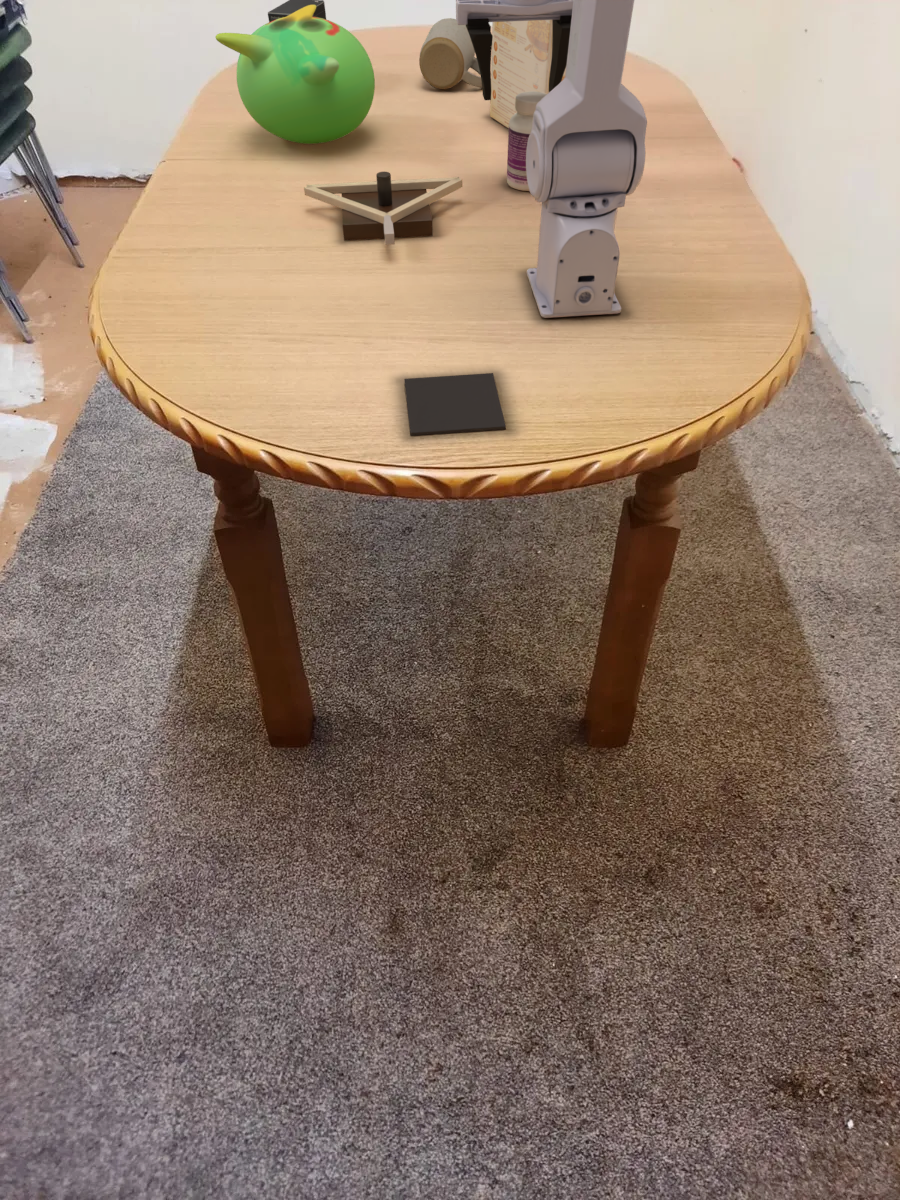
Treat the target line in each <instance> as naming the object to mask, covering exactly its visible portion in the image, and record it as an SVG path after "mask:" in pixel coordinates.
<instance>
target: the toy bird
mask: <svg viewBox="0 0 900 1200" xmlns="http://www.w3.org/2000/svg"><path fill="white" fill-rule="evenodd" d="M315 9H316V5H308V6H306V7H303V8H301V9H299V10H297V11H296V12H294V13H292V14H290V15H288V16H287V17H283V18H279V19H276V20H273V21H271V22H269V21H268V22H267V23H265V24H263V25H261V26H260V27H258V28H257V29H256V30H254V31H253V32H252V33H251V34H249V33H239V32H220V33H217V34H216V35H215V40H216V41H217V42H218V43H220V44H221V45H223V46H224V47H227V48H228V49H230V50H232V51H234V52H236V53H238V54H239V55H238V59H237V63H236V85H237V90H238V94H239V96H240V100H241V102H242V104H243V106H244V107H245V109H246V111H247V113H248V114H249V115H250V116H251V118H252V119H253V120H254V122H256V123H257V124H258V125H259V126H260V127H261V128H263V129H264V130H265V131H267V132H269V133H270V134H272V135H274V136H275V137H278V138H280V139H283V140H285V141H288V142H293V143H296V144H305V145H312V144H313V145H316V144H325V143H330V142H333V141H337V140H339V139H342V138H343V137H346V136H347V135H349V134H350V133H352V132H354V131H355V130H356V129H357V128H358V127H359V126H361V124H362V123H363V122H364V120H365V119H366V117H367V116H368V114H369V112H370V109H371V107H372V104H373V101H374V96H375V89H376V82H375V72H374V68H373V65H372V61H371V59H370V56H369V54H368V52H367V50H366V49H365V47H364V46H363V44H362V42H360V40H359V39H358V38H357V37H356V36H355V35H354V34H352V32H351V31H350V30H348V29H346V28H345V27H343V26H342V25H340V24H338V23H336V22H334V21H331V20H329V19H327V18H326V19H323V18H319V17H313V14H314V12H315Z"/></svg>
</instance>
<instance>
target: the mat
mask: <svg viewBox="0 0 900 1200" xmlns="http://www.w3.org/2000/svg"><path fill="white" fill-rule="evenodd" d="M494 375H495V374H494V372H488V373H487V372H486V373H474V374H473V373H471V374H457V375H443V376H442V375H441V376H427V377H426V376H425V377H409V378H404V389H405V399H406V407H407V416H408V424H409V434H410V436H426V435H427V436H428V435H442V434H453V433H469V432H483V431H498V430H506V429H507V425H506V421H505V417H504V413H503V409H502V405H501V401H500V396H499V392H498V388H497V384H496V380H495V376H494Z"/></svg>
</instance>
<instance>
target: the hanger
mask: <svg viewBox="0 0 900 1200" xmlns="http://www.w3.org/2000/svg"><path fill="white" fill-rule="evenodd" d="M461 188H463V178H460V177H459V176H453V177H452V176H451V177H432V178H411V179H394V180H392V179H391V189H392V191H400V190H419V189H426V190H429V191H427V193H425V194H423V195H421V196H419V197H417V198H415V199H413V200H411V201H409V202H408V203H406V204H404V205H402V206H400V207H398V208H396V209H394V210H392V211H390V212H388V213H385V212H382V211H380V210H377V209H374V208H371V207H369V206H366V205H363V204H360V203H357V202H355V201H352V200H349V199H346V198H344V197H342V193H361V192H378V190H377V180H373V181H371V180H370V181H353V182H334V183H312V184H306V186H304V187H303V192H304V196H306V197H309V198H311V199H315V200H317V201H320V202H323V203H325V204H328V205H331V206H333V207H336V208H339V209H341V210H342V209H344V210H347V211H350V212H352V213H355V214H358V215H361V216H363V217H366V218H369V219H371V220H374V221H377V222H380V223H382V224H384V236H385V238H384V245H386V246H391V245H395V244H396V242H395V240H396V239H395V238H394V229H393V223H394V222H396V221H398V220H400V219H402V218H404V217H406V216H408V215H409V214H411V213H413V212H415V211H417V210H419V209H421V208H423V207H425V206H427V205H429V206H430V205H431V204H433V203H435V202H436V201H438V200H441V199H443V198H444V197H446V196H448V195H451V194H452V193H454V192H455V191H458V190H460V189H461Z"/></svg>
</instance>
